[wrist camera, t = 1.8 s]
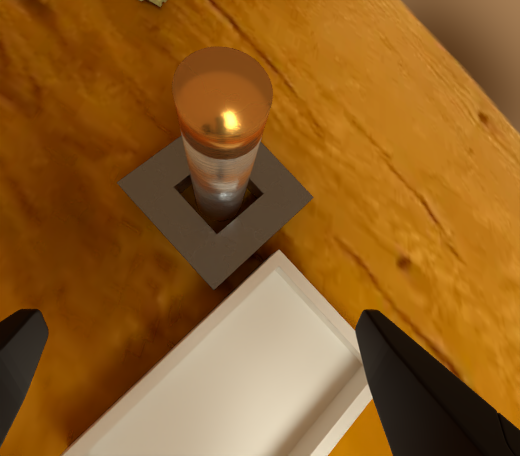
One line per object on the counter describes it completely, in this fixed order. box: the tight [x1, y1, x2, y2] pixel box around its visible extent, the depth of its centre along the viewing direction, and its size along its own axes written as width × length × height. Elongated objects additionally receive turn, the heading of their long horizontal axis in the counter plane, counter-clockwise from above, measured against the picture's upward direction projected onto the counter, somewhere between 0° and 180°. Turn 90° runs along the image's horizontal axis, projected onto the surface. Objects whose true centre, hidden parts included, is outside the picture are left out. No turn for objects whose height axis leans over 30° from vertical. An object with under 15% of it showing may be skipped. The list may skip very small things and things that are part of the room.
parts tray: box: [60, 250, 373, 456], centre depth 19 cm, size 11×18×3 cm, turn 133°
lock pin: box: [172, 47, 273, 221], centre depth 17 cm, size 4×4×13 cm
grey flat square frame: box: [117, 136, 314, 290], centre depth 22 cm, size 10×10×2 cm
